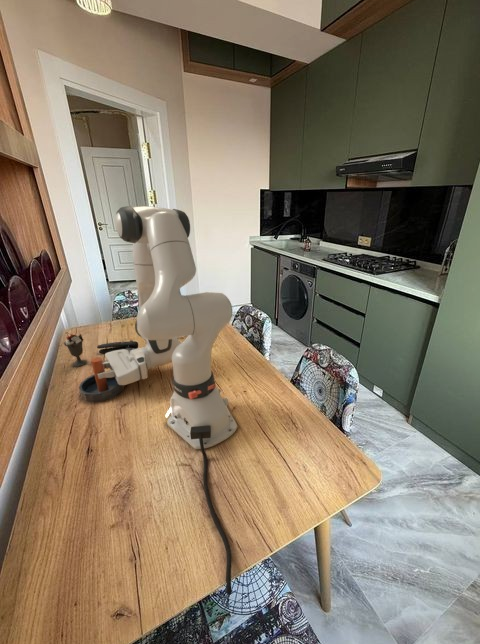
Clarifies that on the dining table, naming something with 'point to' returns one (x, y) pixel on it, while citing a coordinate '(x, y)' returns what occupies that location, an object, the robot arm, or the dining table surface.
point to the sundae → (75, 348)
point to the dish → (91, 390)
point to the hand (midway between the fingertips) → (96, 373)
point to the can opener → (118, 346)
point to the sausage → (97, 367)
